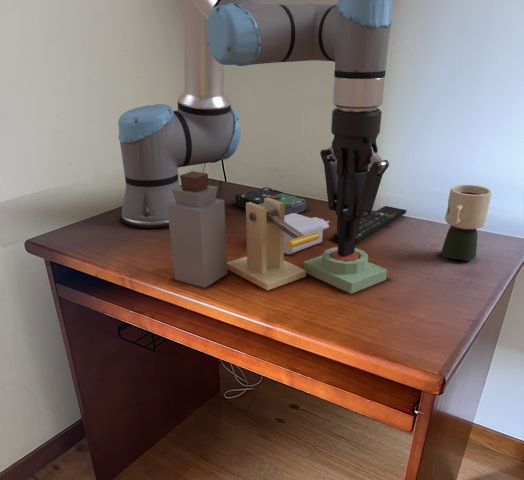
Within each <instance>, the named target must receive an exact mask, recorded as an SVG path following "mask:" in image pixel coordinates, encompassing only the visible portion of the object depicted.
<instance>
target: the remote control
mask: <svg viewBox="0 0 524 480" xmlns="http://www.w3.org/2000/svg"><path fill="white" fill-rule="evenodd" d="M405 214H407V209H404V208H398V207H392V206H388V205H384V206H383V207H381V208H378V209H377V210H375V211H373V212H371V215H370V216H367V217H364V218H361V219H360V225H359V235H358V237H356V240H355V244H357V243H359V242H360V241H362V240H364V239H365V238H367V237H369V236H371V235H372V234H373V233H375V232H376V231H378V230H380V229H382V228H383V227H386V226H387V225H388V224H390V223H392V222H394V221H396V220H397V219H398V218H400V217H402V216H404V215H405ZM333 238H334V239H335V240H336V242H338V239H339V234H338V233H337V232H335V233H334V234H333Z"/></svg>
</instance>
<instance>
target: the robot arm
mask: <svg viewBox="0 0 524 480" xmlns="http://www.w3.org/2000/svg"><path fill="white" fill-rule="evenodd" d="M182 2H183V3H182V5H183V64H184V65H183V75H184V77H183V79H184V84H183V86H184V87H183V88H184V90H183V92H182V93H180V95H179V96H178V97H177V110H174V109H173V107H172V106H171V105H169V104H163V103H159V104H157V103H156V104H152V105H151V104H147V105H142V106H138V107H134V108H131V109H129V110H127V111H124V112H123V113H122V114H120V116H119V117H118V121H117V123H118V125H117V126H118V141H119V144H120V145H119V146H120V152H121V158H122V159H121V160H122V166H123V172H124V181H125V191H124V196H123V201H122V207H121V219H122V222H123V223H124V224H126V225H127V226H130V227H134V228H139V229H162V228H169V218H168V208H167V204H169V203H172V202H174V201H176V200H175V198H174V195H173V192H172V190H173V189H176V188H179V187H181V185H180V184H181V183H180V181H179V168H185V167H190V166H196V165H197V166H198V165H202V164H203V165H204V164H215V163H218V162H220V161H224V160H228V159H229V158H230V157H232V156H233V155H234V154H235V152H236V151H237V149H238V147H239V144H240V140H241V132H242V131H241V122H240V121H239V115H238V112H237V111H236V109H235V108H233V106H232V101H231V99H230V98H229V97H228V96H227V95H226V93H225V86H226V85H225V84H226V81H225V80H226V66H237V67H245V66H246V67H247V66H252V65H263V64H276V63H277V64H278V63H295V62H309V61H311V62H312V61H319V62H334V72H333V76H334V77H333V89H332V90H333V91H332V105H333V106H334V107H336V108H334V109H333V110H332V112H331V129H330V132H331V134H332V135H333V139H332V142H331V145H330V146H329V147H328V148H326V149H325V148H324V149H321V150H320V153H319V155H320V158H321V161H322V163H323V167H324V177H325V186H326V195H327V205H328V209H329V210H330V211H334V213H335V215H336V216H337V217H336V218H337V220H336V233H338V234H339V239H338V241H337V247H338V253H337V254H338V255H341V256H343V257H344V256H347V255H350V254H352V253H354V251H355V248H356V243H355V240H356V237H358V235H359V225H360V220H361V219H362V218H364V217H367V216H370V215H371V213H373V212H372V211H373V208H374V205H375V201H376V198H377V194H378V192H379V188H380V185H381V182H382V178H383V175H384V174H385V172H386V171H387V170H388V168H389V167H390V162H389V160H388V159H382V158H381V156H379V154H378V152H379V148H378V145H377V138H378V136H379V135H380V132H381V124H382V114H383V113H382V111H381V109H380V107H381V106H382V105H383V103H384V101H383V100H384V91H385V80H386V72H387V71H386V70H387V61H388V50H389V42H390V34H391V27H392V24H393V20H392V12H393V11H392V10H393V0H337V3H336V4H323V3H322V4H321V3H320V4H319V3H318V4H317V3H316V4H315V3H301V4H281V3H280V4H278V3H277V4H264V3H262V2H261V1H260V0H183V1H182Z"/></svg>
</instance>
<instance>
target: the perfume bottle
mask: <svg viewBox="0 0 524 480" xmlns="http://www.w3.org/2000/svg"><path fill="white" fill-rule="evenodd" d="M179 178H180V184H181V185H180V187H179V188H176V189H173V190H172V192H173V195H174V198H175V200H176V201H174V202H172V203H169V204H167V208H168V218H169V227H168V228H169V238H170V247H171V257H172V268H173V278H174V280H176V281H180V282H183V283H186V284H190V285H193V286H198V287H201V288H203V289H204V288H207V287H209V286H210V285H212V284H213V283H215V282H217V281H218V280H219V279H221V278H223V277H225V276H226V275H228V269H227V262H228V256H227V255H228V254H227V232H226V210H225V207H226V206H225V199H221V198H217V193H218V189H219V187H218V186H214V185H209V173H205V172H200V171H195V170H194V171H193V170H192V171H189V172H186V173H183V174H180V175H179Z"/></svg>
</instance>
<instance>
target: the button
mask: <svg viewBox="0 0 524 480" xmlns="http://www.w3.org/2000/svg"><path fill="white" fill-rule="evenodd" d="M337 253H338V250H336V251H334V252H333V253H332V258H334V259H336V260H341V261H354V260H357V259H359V254H358V253H357V252H355V251H354V253H352V254H350V255H347V256H344V257H343V256H341V255H338V254H337Z"/></svg>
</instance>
